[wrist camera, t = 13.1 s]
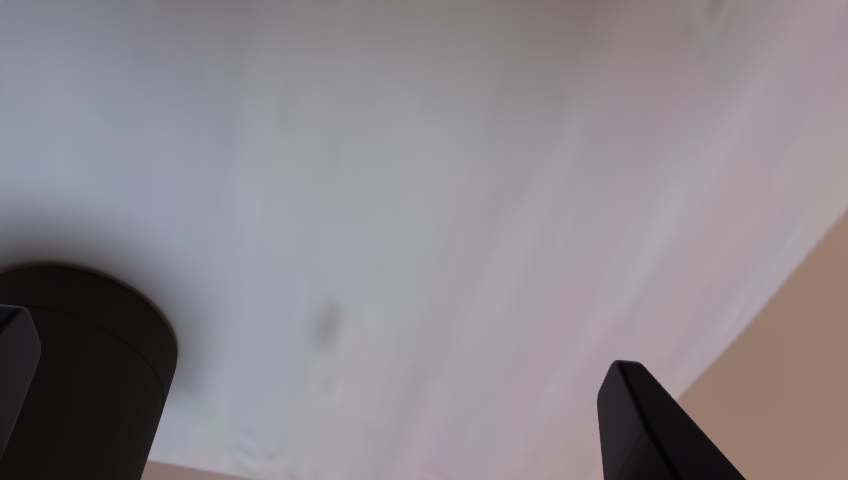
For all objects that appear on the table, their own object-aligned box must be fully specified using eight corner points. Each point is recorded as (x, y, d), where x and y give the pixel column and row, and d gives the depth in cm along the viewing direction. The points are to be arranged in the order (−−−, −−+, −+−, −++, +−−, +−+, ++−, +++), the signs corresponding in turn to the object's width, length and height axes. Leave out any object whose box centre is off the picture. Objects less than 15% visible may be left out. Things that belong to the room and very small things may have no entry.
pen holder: (-87, 277, 27) (-300, 506, 19) (119, 232, 25) (-20, 461, 17) (49, 415, 32) (-72, 636, 25) (224, 385, 31) (155, 610, 23)
